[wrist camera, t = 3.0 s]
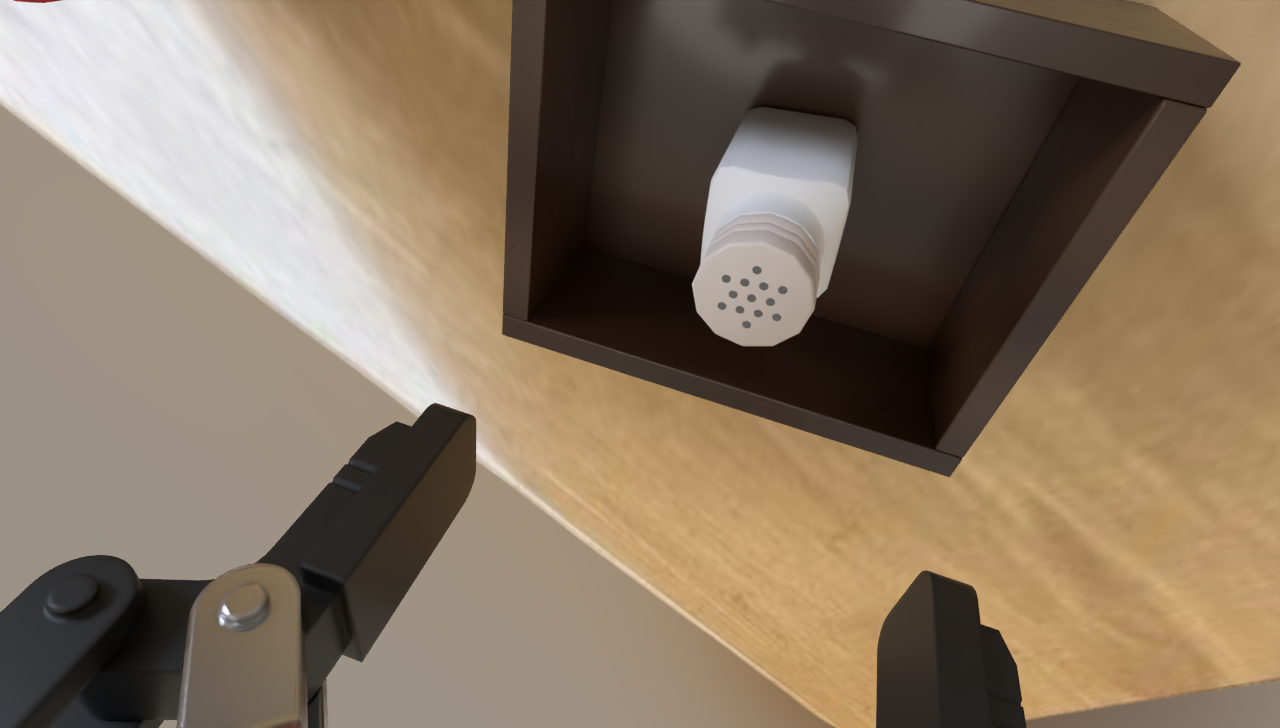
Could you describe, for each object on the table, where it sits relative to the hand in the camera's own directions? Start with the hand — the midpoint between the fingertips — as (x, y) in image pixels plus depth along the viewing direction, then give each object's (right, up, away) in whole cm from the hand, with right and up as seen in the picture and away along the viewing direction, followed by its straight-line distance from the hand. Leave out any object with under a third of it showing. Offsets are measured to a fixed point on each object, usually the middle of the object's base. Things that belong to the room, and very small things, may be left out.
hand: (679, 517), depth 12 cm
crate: (+5, +10, +13) cm, 17 cm away
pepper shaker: (+5, +10, +13) cm, 17 cm away
